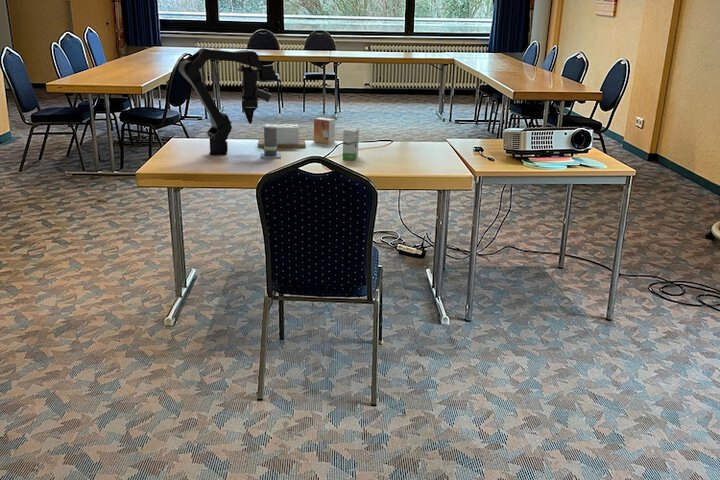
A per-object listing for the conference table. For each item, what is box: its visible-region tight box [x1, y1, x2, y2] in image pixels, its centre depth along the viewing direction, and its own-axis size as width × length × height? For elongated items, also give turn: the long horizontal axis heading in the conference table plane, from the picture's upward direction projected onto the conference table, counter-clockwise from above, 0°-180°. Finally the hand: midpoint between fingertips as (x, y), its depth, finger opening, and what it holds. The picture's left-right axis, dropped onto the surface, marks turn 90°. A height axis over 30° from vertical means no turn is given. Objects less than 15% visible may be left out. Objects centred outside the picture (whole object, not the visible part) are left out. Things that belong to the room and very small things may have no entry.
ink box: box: [342, 126, 360, 161], centre depth 278 cm, size 9×5×12 cm, turn 168°
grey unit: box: [257, 123, 307, 149], centre depth 298 cm, size 20×10×8 cm, turn 98°
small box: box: [313, 116, 336, 145], centre depth 307 cm, size 8×6×10 cm
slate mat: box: [260, 152, 282, 159], centre depth 278 cm, size 8×7×1 cm
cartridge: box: [263, 126, 278, 156], centre depth 276 cm, size 5×5×11 cm
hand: (250, 121), depth 283 cm, fingers open, 9 cm apart
